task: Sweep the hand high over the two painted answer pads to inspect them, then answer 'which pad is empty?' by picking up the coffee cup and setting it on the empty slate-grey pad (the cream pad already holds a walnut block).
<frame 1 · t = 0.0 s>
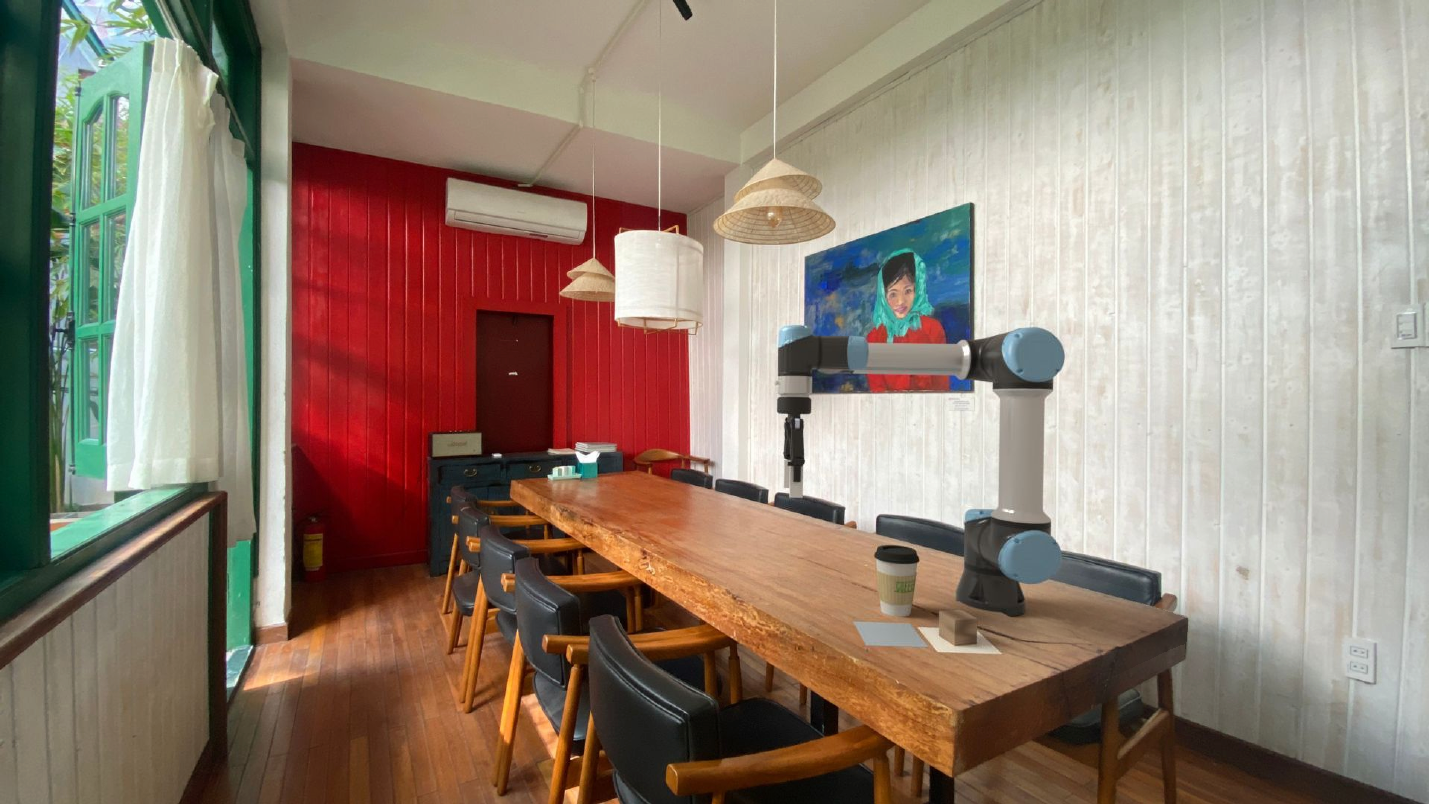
hand: (792, 492, 125), 28 cm above the table, fingers open, 13 cm apart
pad a: (957, 644, 113), on the table
walnut block: (957, 639, 113), point 1 cm above the table, touching pad a
coffee cup: (895, 616, 129), on the table
pad b: (888, 638, 116), on the table
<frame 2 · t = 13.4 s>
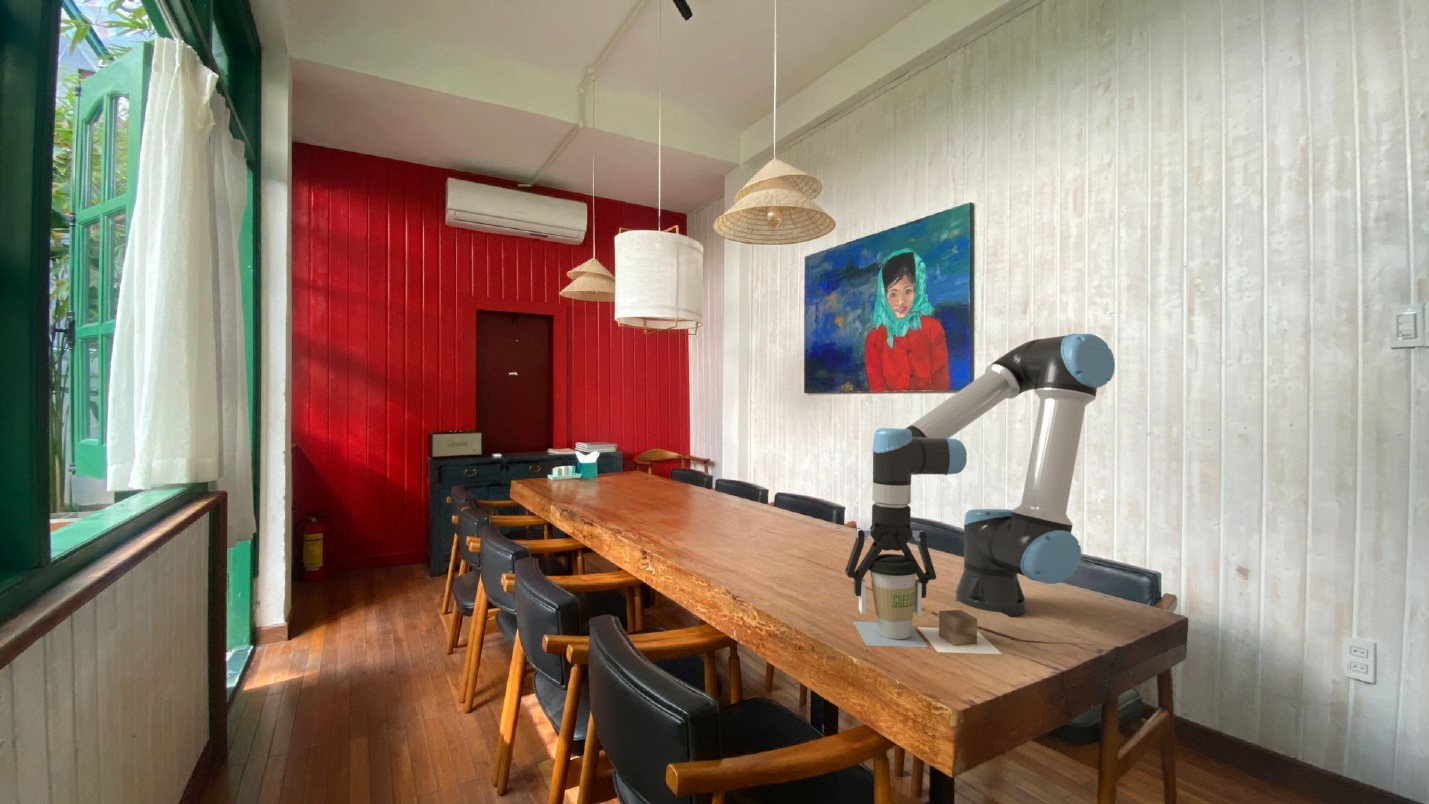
hand: (889, 612, 116), 5 cm above the table, fingers open, 10 cm apart
coffee cup: (895, 633, 116), point 1 cm above the table, touching gripper
everything else where it was.
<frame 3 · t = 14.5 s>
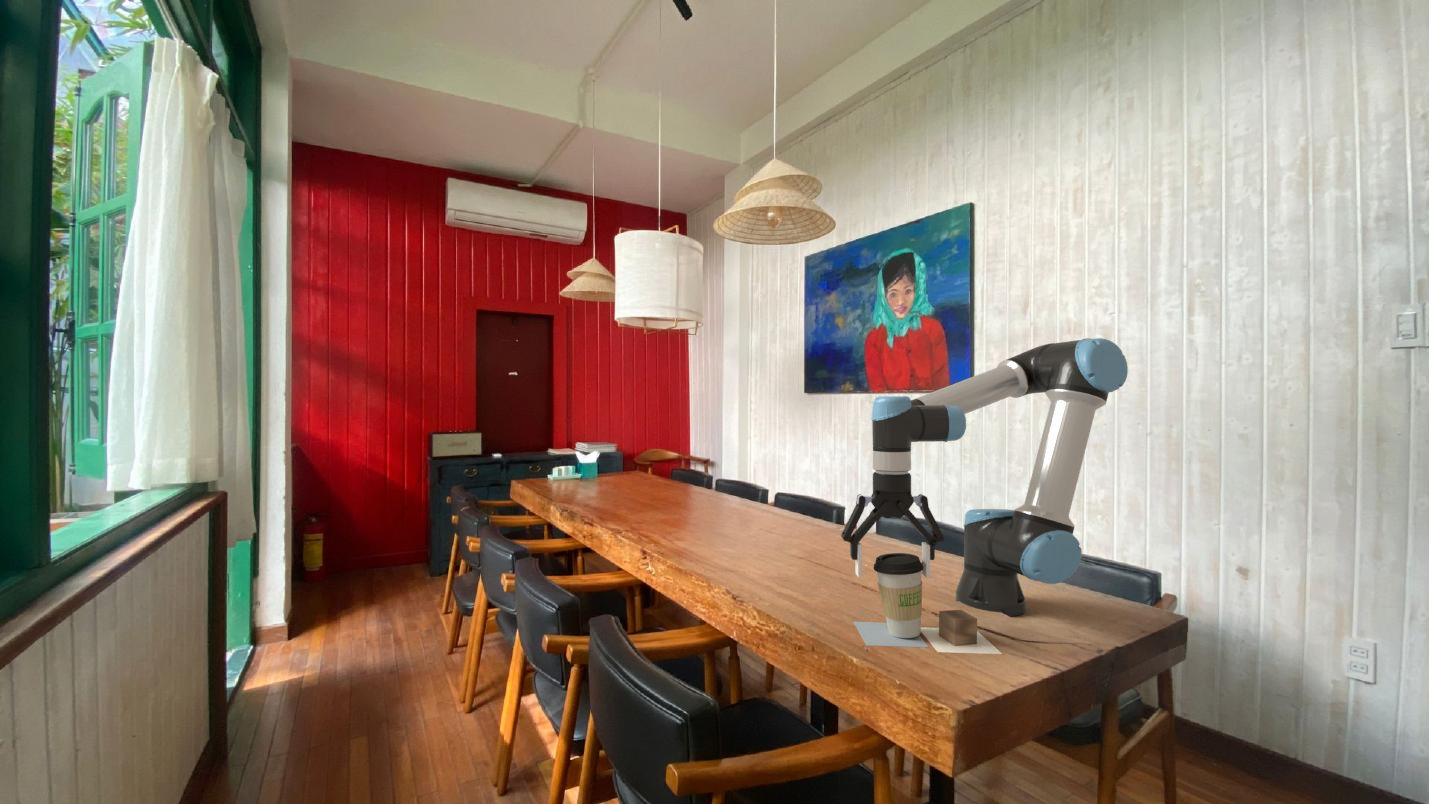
hand: (892, 575, 116), 13 cm above the table, fingers open, 13 cm apart
coffee cup: (904, 633, 116), point 1 cm above the table, touching pad b
everything else where it was.
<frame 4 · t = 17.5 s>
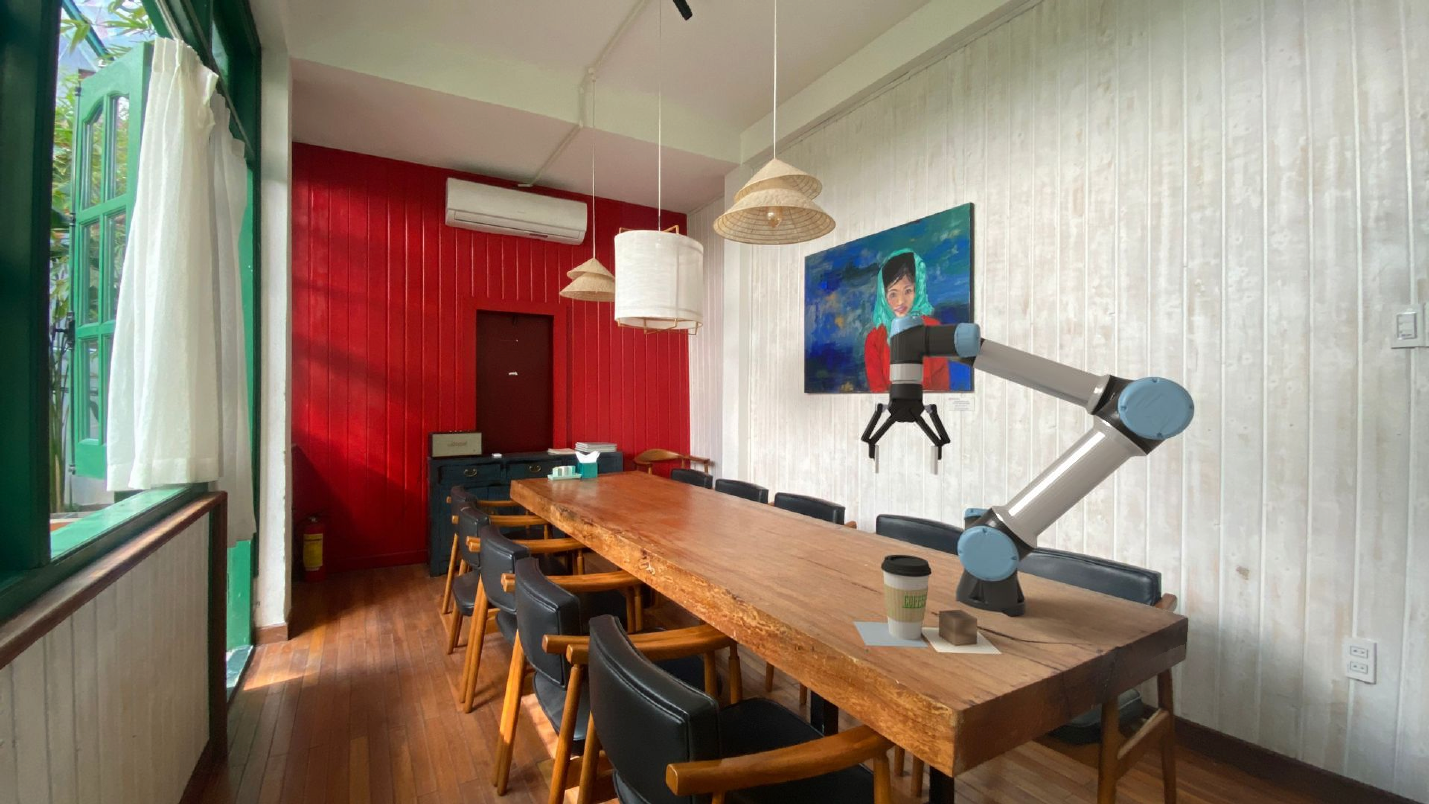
hand: (904, 473, 134), 32 cm above the table, fingers open, 13 cm apart
at the end: coffee cup inside the target area on the pad b (3.3 cm from its centre), point 0.8 cm above the pad b's base; coffee cup tilted 0°; walnut block moved 0.0 cm from its start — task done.
